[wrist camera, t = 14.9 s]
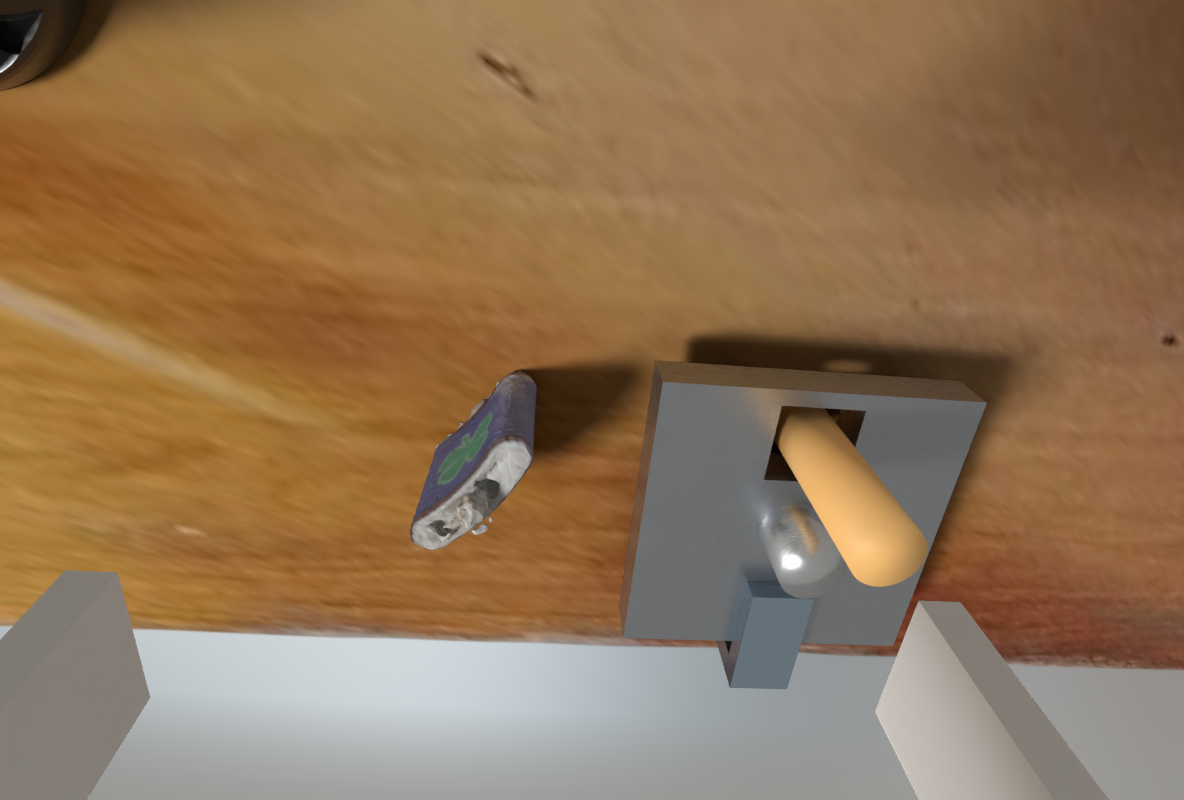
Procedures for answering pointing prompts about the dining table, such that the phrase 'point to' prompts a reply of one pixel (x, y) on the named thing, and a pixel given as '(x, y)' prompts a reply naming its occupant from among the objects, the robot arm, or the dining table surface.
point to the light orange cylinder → (850, 498)
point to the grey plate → (776, 510)
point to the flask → (478, 464)
